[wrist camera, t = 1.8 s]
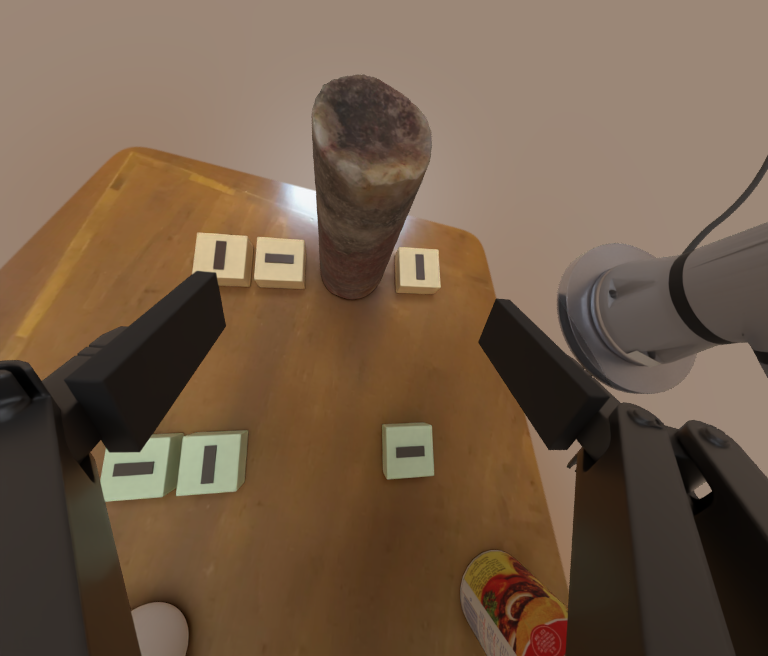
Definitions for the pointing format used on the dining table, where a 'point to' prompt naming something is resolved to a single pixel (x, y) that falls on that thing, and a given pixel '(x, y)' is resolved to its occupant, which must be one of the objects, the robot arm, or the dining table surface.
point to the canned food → (511, 608)
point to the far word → (298, 263)
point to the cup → (160, 629)
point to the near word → (235, 462)
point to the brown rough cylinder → (364, 177)
